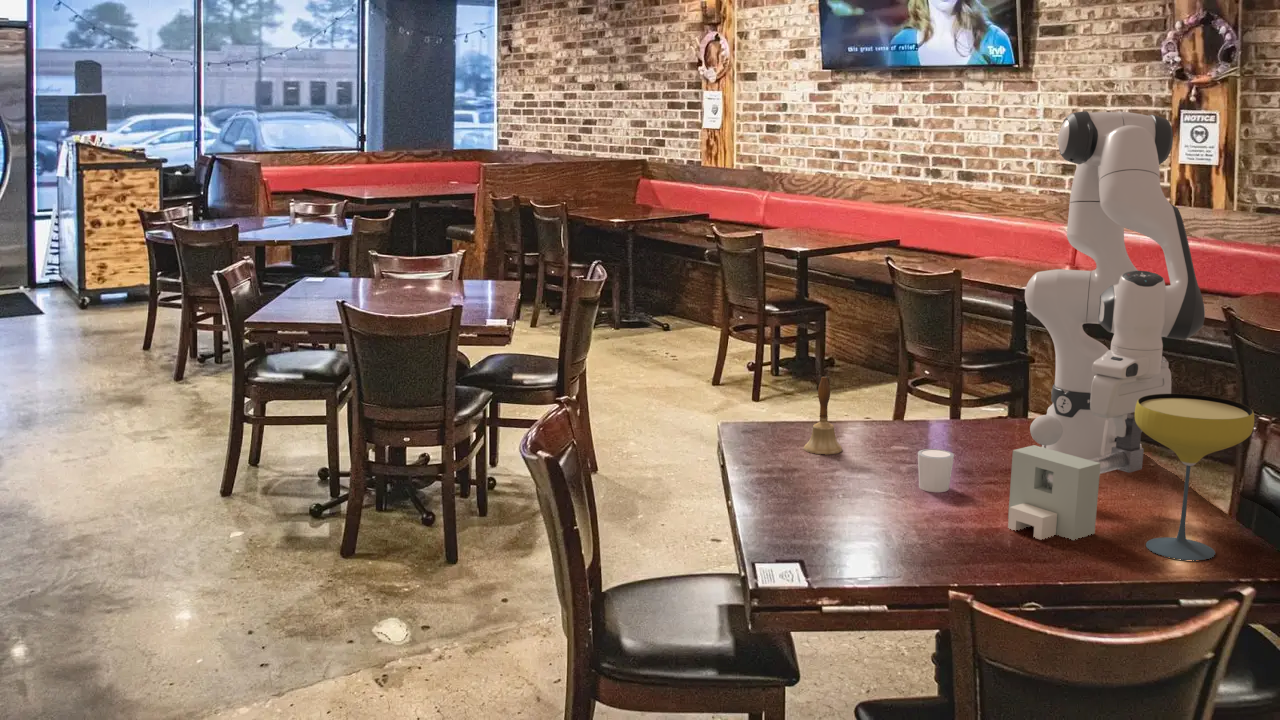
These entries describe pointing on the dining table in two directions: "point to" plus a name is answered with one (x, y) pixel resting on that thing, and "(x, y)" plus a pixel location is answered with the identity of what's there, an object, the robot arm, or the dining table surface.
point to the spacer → (1033, 520)
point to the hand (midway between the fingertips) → (1128, 434)
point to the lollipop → (1046, 430)
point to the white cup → (935, 469)
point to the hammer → (1117, 453)
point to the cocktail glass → (1191, 447)
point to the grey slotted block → (1057, 488)
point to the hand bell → (823, 426)
